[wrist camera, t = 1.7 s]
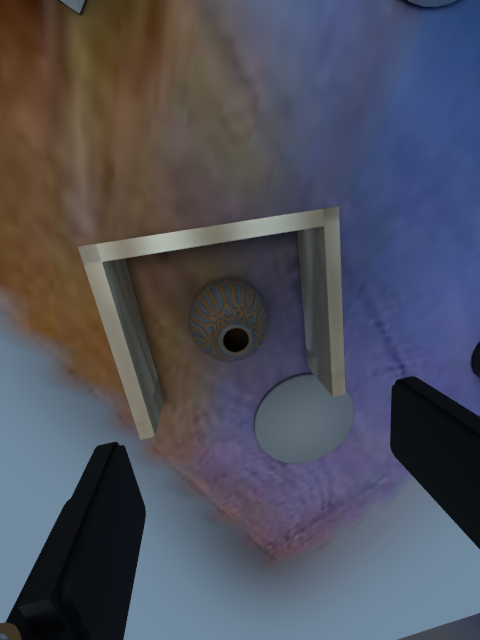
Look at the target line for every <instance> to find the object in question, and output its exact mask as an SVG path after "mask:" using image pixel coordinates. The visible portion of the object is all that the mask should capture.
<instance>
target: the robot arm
mask: <svg viewBox="0 0 480 640" xmlns="http://www.w3.org/2000/svg"><path fill="white" fill-rule="evenodd" d="M408 1H409V2H411V3H414V4H417V5H420V6H426V7H438V6H443V5H448V4H451V3H453V2H455V1H457V0H408ZM390 447H391V450H392V453H393V454H394V456H395V457H396V458H397V459H398V460H399V461H400V463H401V464H402V465H403V466H404V467H405V468H406V469H407V470H408V471H409V472H410V473H411V475H412V476H413V477H414V478H415V479H416V480H417V481H418V482H419V483H420V484H421V485H422V487H423V488H424V489H425V490H426V491H427V492H428V493H429V494H430V495H431V496H432V498H433V499H434V500H435V501H436V502H437V503H438V504H439V505H440V506H441V507H442V508H443V510H445V511H446V513H447V514H448V515H449V516H450V517H451V518H452V519H453V520H454V522H455V523H456V524H457V525H458V526H459V527H460V528H461V529H462V530H463V531H464V533H465V534H466V535H467V536H468V537H469V538H470V539H471V540H472V541H473V542H474V543H475V545H476V546H477V547H478V548H479V549H480V417H479V416H478V415H476V414H474V413H473V412H471V411H470V410H468V409H466V408H465V407H463V406H462V405H460V404H458V403H457V402H455V401H454V400H452V399H450V398H449V397H447V396H446V395H444V394H442V393H441V392H439V391H438V390H436V389H434V388H433V387H431V386H430V385H428V384H426V383H425V382H423V381H422V380H420V379H418V378H417V377H414V376H411V377H407V378H402V379H398V380H396V382H395V385H393V386H392V398H391V434H390ZM145 517H146V510H145V505H144V502H143V499H142V496H141V493H140V490H139V487H138V484H137V481H136V478H135V475H134V472H133V469H132V466H131V463H130V460H129V457H128V454H127V451H126V448H125V446H124V445H121V446H119V444H118V443H117V442H112V443H108V444H103V445H99V446H97V447H96V448H95V450H94V452H93V454H92V456H91V458H90V460H89V462H88V464H87V466H86V468H85V471H84V472H83V475H82V477H81V479H80V481H79V483H78V485H77V487H76V489H75V491H74V493H73V495H72V497H71V499H69V500H68V501H67V502H66V504H65V505H64V507H63V509H62V511H61V513H60V515H59V517H58V519H57V521H56V523H55V525H54V527H53V529H52V531H51V533H50V535H49V537H48V539H47V541H46V543H45V545H44V547H43V549H42V551H41V553H40V555H39V557H38V559H37V561H36V563H35V565H34V567H33V569H32V571H31V573H30V575H29V577H28V579H27V581H26V583H25V585H24V587H23V589H22V591H21V593H20V595H19V597H18V599H17V601H16V603H15V605H14V607H13V609H12V611H11V613H10V615H9V617H8V619H7V621H6V622H5V623H0V640H123V638H124V632H125V627H126V621H127V616H128V610H129V605H130V600H131V594H132V589H133V583H134V578H135V573H136V567H137V562H138V556H139V550H140V545H141V540H142V535H143V529H144V523H145ZM398 640H480V613H479V614H476V615H473V616H469V617H466V618H463V619H460V620H457V621H454V622H451V623H447V624H444V625H441V626H438V627H435V628H432V629H429V630H426V631H423V632H420V633H417V634H414V635H411V636H407V637H404V638H402V639H398Z"/></svg>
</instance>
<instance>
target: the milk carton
mask: <svg viewBox="0 0 480 640" xmlns="http://www.w3.org/2000/svg"><path fill="white" fill-rule="evenodd" d="M60 1H62V2H63V3H64V4H66V5H67V6H68V7H70V8H71V9H73V10H74V11H76V12H77V13H80V12H81V9H82V6H83V4H84V1H85V0H60Z"/></svg>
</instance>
